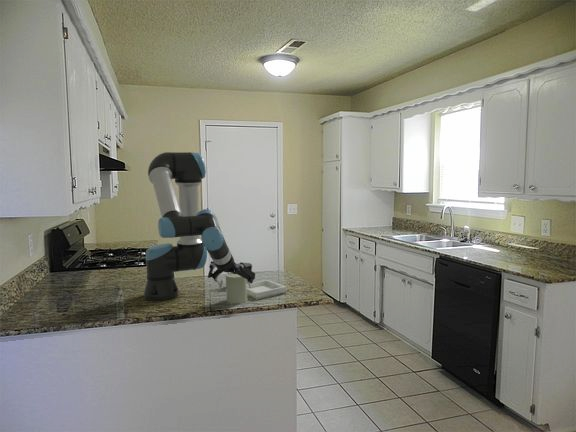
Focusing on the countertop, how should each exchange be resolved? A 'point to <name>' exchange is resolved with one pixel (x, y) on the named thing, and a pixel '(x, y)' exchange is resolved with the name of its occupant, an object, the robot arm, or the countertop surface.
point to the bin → (265, 289)
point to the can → (236, 289)
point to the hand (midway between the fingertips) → (236, 285)
